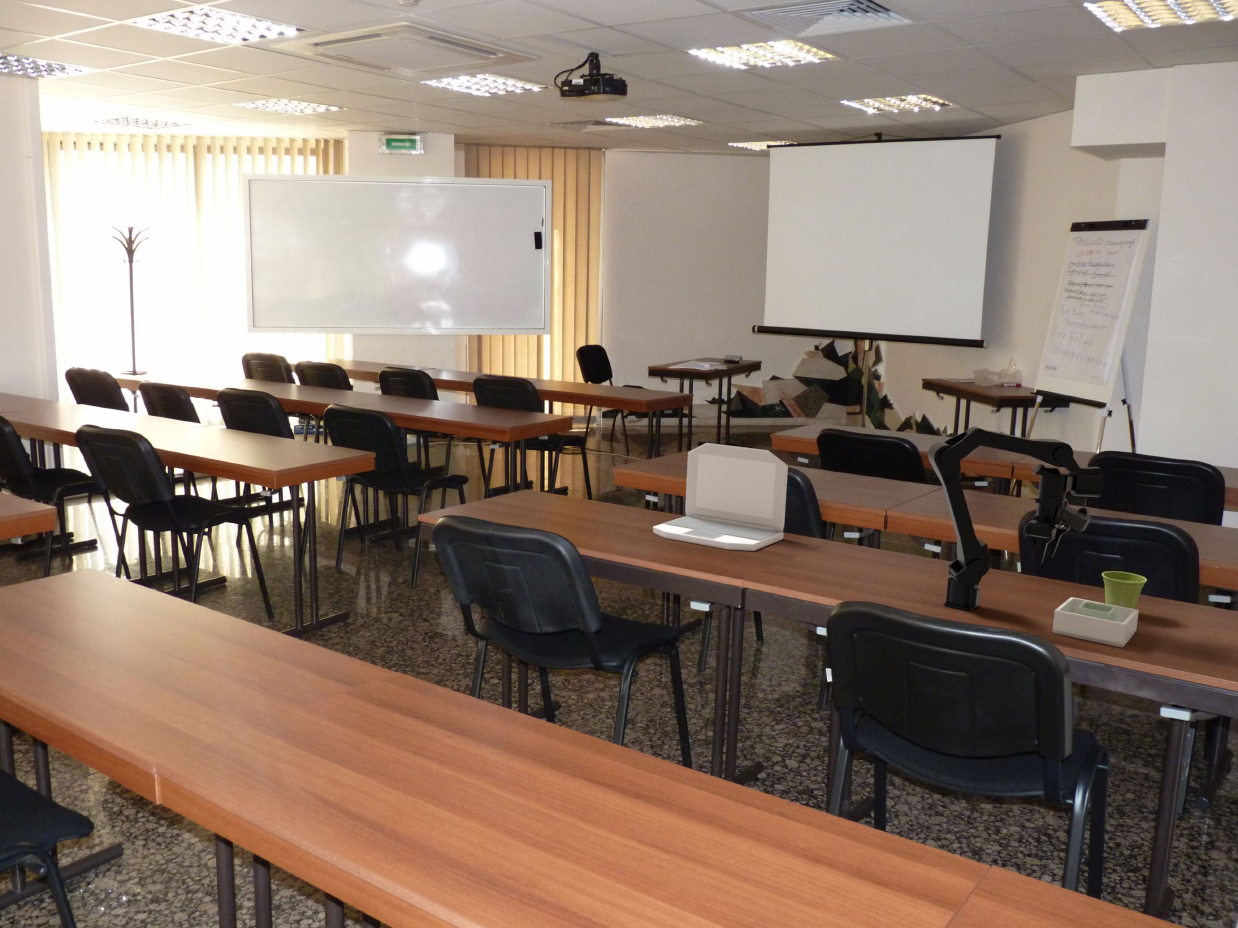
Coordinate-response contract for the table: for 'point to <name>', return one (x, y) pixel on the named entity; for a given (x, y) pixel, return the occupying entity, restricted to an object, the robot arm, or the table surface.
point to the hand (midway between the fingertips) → (1044, 560)
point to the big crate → (1095, 624)
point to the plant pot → (1122, 588)
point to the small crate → (1097, 610)
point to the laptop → (731, 499)
